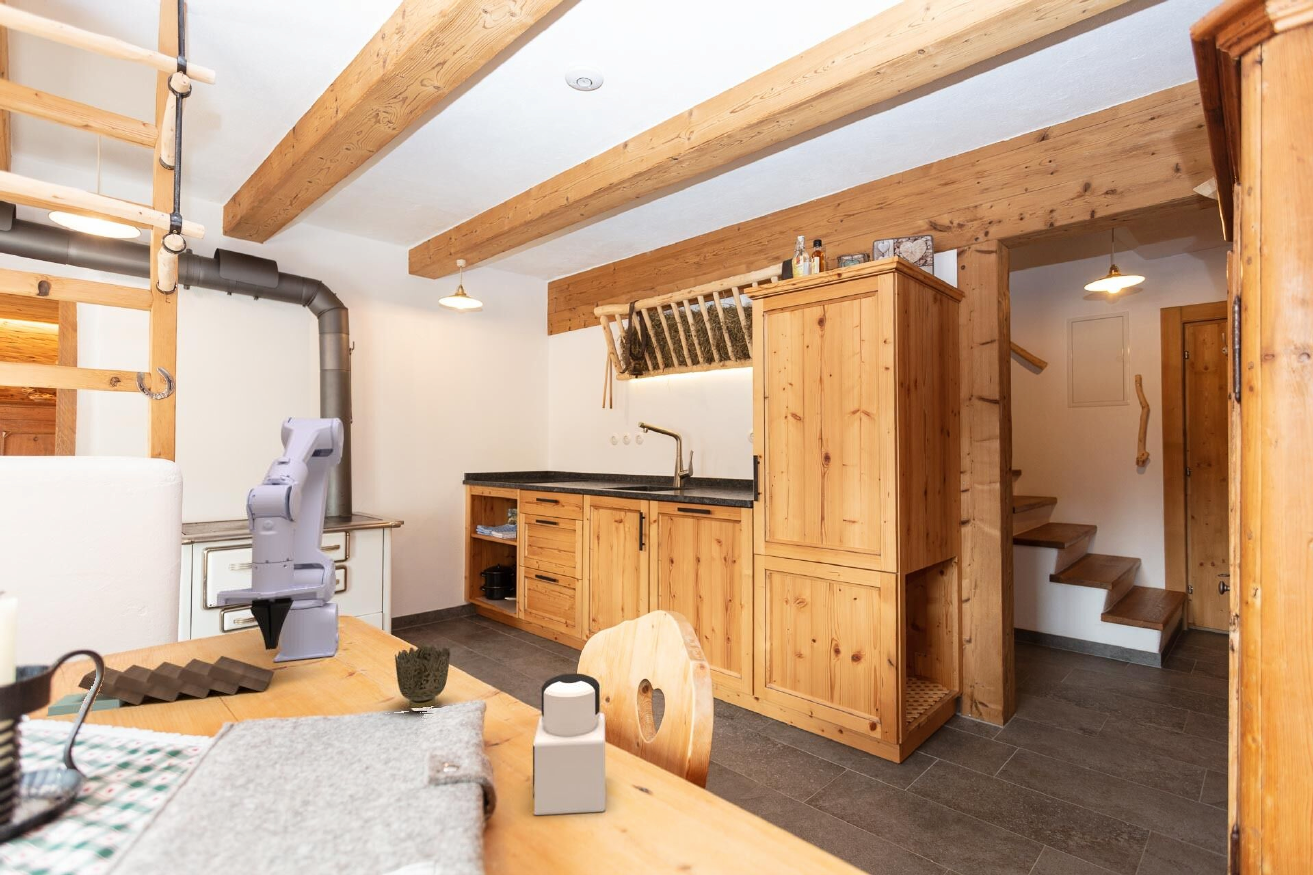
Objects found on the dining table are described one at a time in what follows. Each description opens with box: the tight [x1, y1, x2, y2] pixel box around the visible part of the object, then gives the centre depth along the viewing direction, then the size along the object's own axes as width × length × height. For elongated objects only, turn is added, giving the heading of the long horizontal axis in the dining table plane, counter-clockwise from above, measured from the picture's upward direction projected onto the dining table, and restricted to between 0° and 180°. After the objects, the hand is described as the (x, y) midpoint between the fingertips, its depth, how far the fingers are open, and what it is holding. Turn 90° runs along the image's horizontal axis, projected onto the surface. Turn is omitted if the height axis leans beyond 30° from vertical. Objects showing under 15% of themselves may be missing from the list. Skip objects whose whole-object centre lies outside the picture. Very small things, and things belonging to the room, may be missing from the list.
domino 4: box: [146, 661, 214, 700], centre depth 96 cm, size 2×5×8 cm
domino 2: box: [77, 666, 151, 706], centre depth 94 cm, size 2×5×8 cm
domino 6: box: [207, 655, 275, 693], centre depth 99 cm, size 2×5×8 cm
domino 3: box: [113, 664, 184, 703], centre depth 95 cm, size 2×5×8 cm
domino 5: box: [177, 658, 242, 696], centre depth 97 cm, size 2×5×8 cm
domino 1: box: [47, 692, 127, 717], centre depth 92 cm, size 2×5×8 cm
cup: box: [394, 644, 452, 709], centre depth 90 cm, size 8×7×8 cm
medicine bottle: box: [532, 673, 607, 816], centre depth 67 cm, size 7×7×12 cm
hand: (271, 647), depth 100 cm, fingers closed
